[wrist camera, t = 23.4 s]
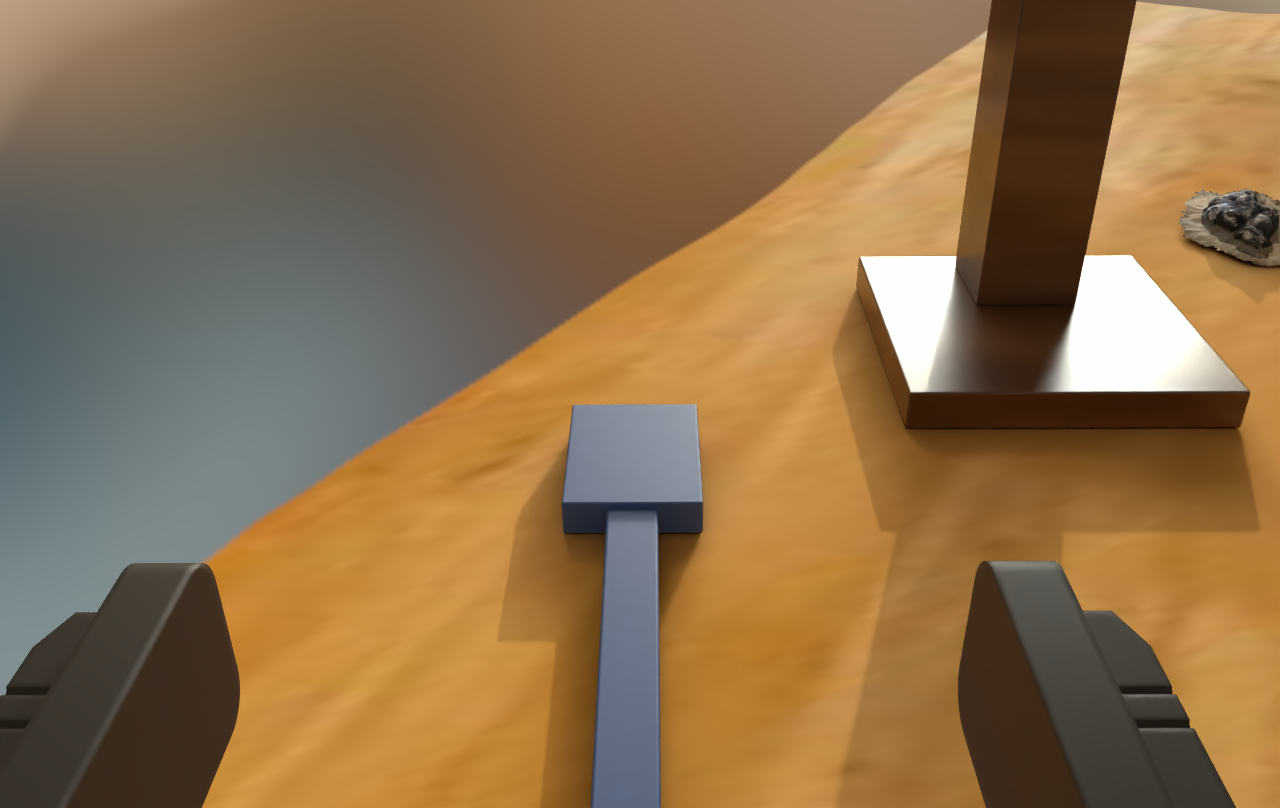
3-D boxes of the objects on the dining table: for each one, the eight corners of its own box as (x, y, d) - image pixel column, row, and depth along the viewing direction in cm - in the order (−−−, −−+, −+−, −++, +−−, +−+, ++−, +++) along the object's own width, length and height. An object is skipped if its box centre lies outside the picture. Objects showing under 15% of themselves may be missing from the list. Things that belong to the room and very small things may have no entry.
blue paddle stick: (733, 1025, 23) (735, 988, 22) (511, 1024, 23) (506, 988, 22) (696, 432, 42) (697, 403, 41) (573, 432, 42) (572, 404, 41)
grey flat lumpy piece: (1299, 208, 60) (1309, 172, 59) (1353, 272, 53) (1366, 233, 52) (1160, 201, 61) (1169, 166, 60) (1196, 263, 54) (1206, 224, 53)
